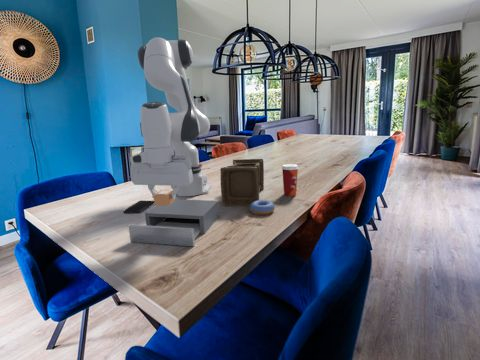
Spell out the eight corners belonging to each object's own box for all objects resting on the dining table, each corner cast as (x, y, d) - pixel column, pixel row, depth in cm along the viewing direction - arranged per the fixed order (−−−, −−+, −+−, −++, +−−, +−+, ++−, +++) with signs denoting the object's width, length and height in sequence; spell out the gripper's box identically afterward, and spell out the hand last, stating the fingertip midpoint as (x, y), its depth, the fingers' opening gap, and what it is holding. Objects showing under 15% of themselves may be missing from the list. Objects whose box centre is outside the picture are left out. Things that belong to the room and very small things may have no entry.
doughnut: (272, 216, 112) (271, 204, 111) (247, 216, 115) (246, 204, 114) (276, 209, 121) (276, 199, 121) (253, 209, 124) (252, 199, 123)
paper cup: (297, 197, 134) (297, 167, 130) (280, 196, 136) (280, 166, 133) (299, 192, 141) (299, 163, 137) (283, 191, 143) (283, 163, 140)
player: (168, 214, 120) (166, 198, 118) (219, 216, 115) (218, 200, 113) (147, 230, 105) (144, 213, 103) (204, 233, 100) (203, 215, 98)
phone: (155, 200, 136) (139, 212, 122) (155, 203, 136) (139, 214, 122) (139, 200, 137) (121, 211, 123) (139, 202, 138) (122, 214, 123)
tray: (155, 223, 110) (153, 209, 109) (210, 226, 105) (209, 211, 104) (130, 242, 96) (128, 225, 94) (193, 246, 90) (191, 229, 89)
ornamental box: (238, 189, 161) (232, 156, 157) (270, 185, 157) (264, 151, 153) (223, 210, 127) (215, 168, 123) (263, 205, 123) (256, 162, 120)
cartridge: (161, 200, 98) (160, 190, 97) (174, 200, 97) (173, 190, 96) (154, 205, 93) (153, 194, 92) (167, 205, 92) (166, 194, 91)
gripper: (194, 154, 92) (198, 196, 95) (136, 154, 97) (142, 194, 100) (186, 157, 86) (190, 202, 89) (125, 157, 91) (131, 200, 94)
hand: (164, 198), depth 94 cm, fingers closed on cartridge, 5 cm apart
